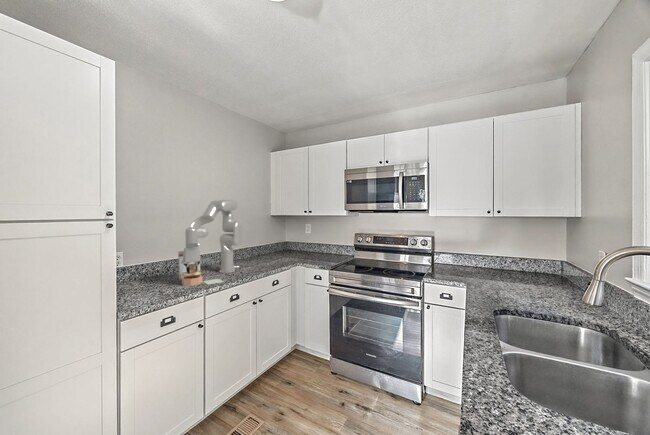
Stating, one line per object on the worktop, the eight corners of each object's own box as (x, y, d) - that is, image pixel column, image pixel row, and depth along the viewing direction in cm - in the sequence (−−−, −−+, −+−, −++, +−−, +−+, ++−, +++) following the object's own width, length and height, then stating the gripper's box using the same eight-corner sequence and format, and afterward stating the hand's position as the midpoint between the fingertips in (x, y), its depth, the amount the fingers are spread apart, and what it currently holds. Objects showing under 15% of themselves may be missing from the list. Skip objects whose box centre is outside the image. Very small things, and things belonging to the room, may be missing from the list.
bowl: (198, 280, 194) (198, 273, 194) (204, 284, 185) (203, 276, 185) (180, 283, 186) (180, 276, 186) (185, 287, 177) (185, 279, 177)
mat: (218, 279, 198) (218, 278, 198) (224, 282, 190) (224, 281, 189) (202, 282, 190) (202, 281, 190) (207, 285, 182) (207, 284, 182)
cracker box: (198, 276, 208) (198, 249, 207) (200, 277, 203) (200, 250, 203) (178, 279, 199) (178, 251, 199) (180, 280, 195) (179, 252, 194)
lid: (198, 271, 194) (198, 262, 194) (203, 274, 185) (203, 264, 185) (180, 273, 186) (180, 264, 186) (184, 277, 177) (184, 267, 177)
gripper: (202, 244, 193) (202, 269, 194) (176, 246, 182) (177, 272, 183) (206, 245, 188) (206, 271, 188) (179, 247, 177) (180, 274, 177)
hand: (192, 271), depth 186 cm, fingers closed on lid, 4 cm apart
